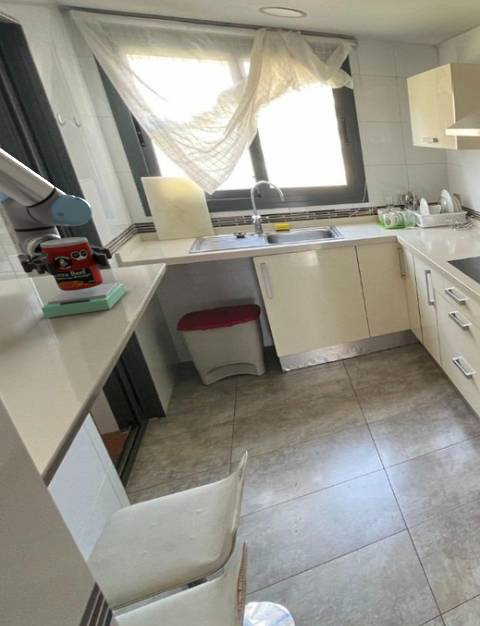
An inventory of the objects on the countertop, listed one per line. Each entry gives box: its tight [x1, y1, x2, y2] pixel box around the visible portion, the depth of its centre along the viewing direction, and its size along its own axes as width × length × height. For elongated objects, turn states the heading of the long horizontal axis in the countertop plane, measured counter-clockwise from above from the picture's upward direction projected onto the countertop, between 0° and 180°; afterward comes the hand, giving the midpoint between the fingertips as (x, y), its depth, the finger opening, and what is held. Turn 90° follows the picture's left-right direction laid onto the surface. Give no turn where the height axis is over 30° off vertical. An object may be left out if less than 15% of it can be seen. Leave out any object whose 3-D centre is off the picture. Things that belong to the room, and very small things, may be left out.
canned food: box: [40, 236, 104, 291], centre depth 108 cm, size 8×8×11 cm
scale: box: [41, 282, 126, 319], centre depth 110 cm, size 11×14×3 cm
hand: (78, 264), depth 105 cm, fingers closed on canned food, 8 cm apart
